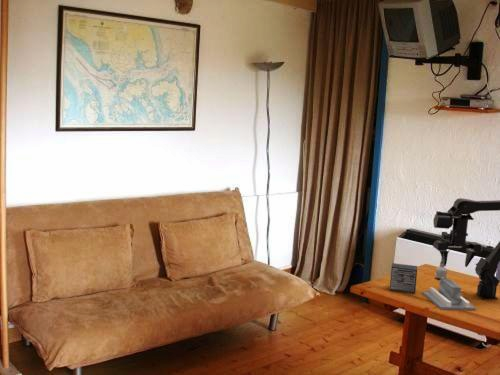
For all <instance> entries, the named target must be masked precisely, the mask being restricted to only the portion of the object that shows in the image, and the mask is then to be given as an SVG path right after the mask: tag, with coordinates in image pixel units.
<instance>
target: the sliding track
mask: <svg viewBox="0 0 500 375" xmlns="http://www.w3.org/2000/svg"><path fill="white" fill-rule="evenodd" d="M428 289H429V291H422V295H423V296H424V297H426V298H427V299H428V300H429V301H430V302H431V303H433V304H434V305H435V306H436V307H437V308H438V309H440V310H442V311H443V310H444V311H445V310H446V311H447V310H449V311H450V310H451V311H453V310H454V311H476V307H475V306H474V305H473V304H471V302H470V301H469V300H468V299H465V297H463V296H462V295H461V296H460V304H459V305H451V302H450V301H449V300H448V299H447V298H446V297H444V296H443V295H442V294H441V293H439V290H437V289H436V288H434V287H431V286H430V287H429V288H428Z"/></svg>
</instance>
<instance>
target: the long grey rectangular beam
mask: <svg viewBox="0 0 500 375" xmlns="http://www.w3.org/2000/svg"><path fill="white" fill-rule="evenodd" d="M438 292H439V293H441V294H442V295H443V296H444V297H446V298H447V299H448V300H449V301H450V302H451V305H459V304H460V296H462V294H461V293H462V287H461V286H460V285H458V283H456V282H454V281H453V280H452V279H450V278H449V277H446V278H439V287H438Z"/></svg>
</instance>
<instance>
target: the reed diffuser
mask: <svg viewBox="0 0 500 375" xmlns="http://www.w3.org/2000/svg"><path fill="white" fill-rule="evenodd" d="M441 241H444V242H445V240H442V239H441ZM450 250H451V248H448V250H447V251H448V253H449V252H450ZM435 269H436V270H435V274H434V277H435V278H436V279H440V278H447V273H448V270H447V268H446V266H444V265H443V261H442V258H441V260H440V262H439V266H438V267H436V268H435Z"/></svg>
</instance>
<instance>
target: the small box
mask: <svg viewBox="0 0 500 375" xmlns="http://www.w3.org/2000/svg"><path fill="white" fill-rule="evenodd" d="M417 277H418V265H411V264H403V263H402V264H401V263H395V262H392V263H391V271H390V282H389V288H388V289H389V291H391V290H393V292H394V291H395V292H401V293H408V294H416V287H417Z"/></svg>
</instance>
